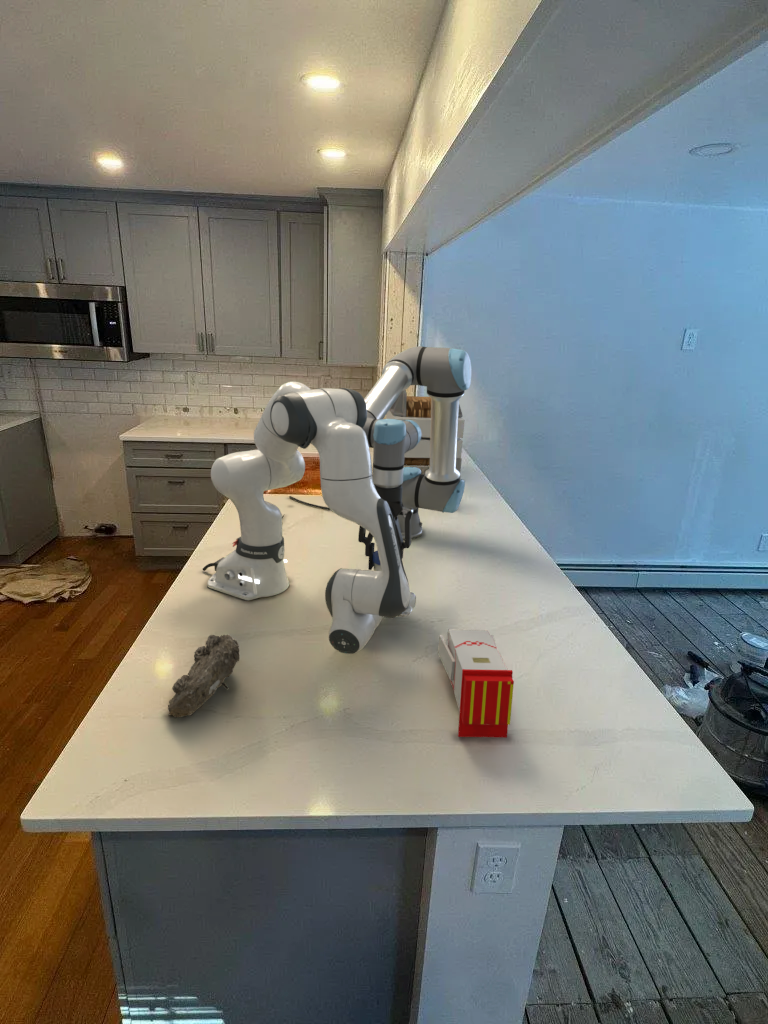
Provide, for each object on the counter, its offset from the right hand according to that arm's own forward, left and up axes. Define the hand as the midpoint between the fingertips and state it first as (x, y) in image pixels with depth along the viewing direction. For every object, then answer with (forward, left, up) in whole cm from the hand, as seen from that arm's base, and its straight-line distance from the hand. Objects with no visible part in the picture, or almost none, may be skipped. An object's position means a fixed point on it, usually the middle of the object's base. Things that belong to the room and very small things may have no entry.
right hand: (383, 569), depth 146 cm
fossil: (+4, -50, -11) cm, 51 cm away
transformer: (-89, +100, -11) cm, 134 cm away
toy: (+38, -8, -11) cm, 40 cm away
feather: (-72, +13, -11) cm, 74 cm away
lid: (0, 0, +4) cm, 4 cm away
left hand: (-1, +1, -5) cm, 5 cm away
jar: (0, 0, -11) cm, 11 cm away
